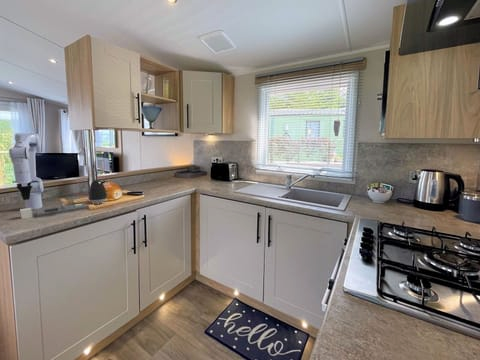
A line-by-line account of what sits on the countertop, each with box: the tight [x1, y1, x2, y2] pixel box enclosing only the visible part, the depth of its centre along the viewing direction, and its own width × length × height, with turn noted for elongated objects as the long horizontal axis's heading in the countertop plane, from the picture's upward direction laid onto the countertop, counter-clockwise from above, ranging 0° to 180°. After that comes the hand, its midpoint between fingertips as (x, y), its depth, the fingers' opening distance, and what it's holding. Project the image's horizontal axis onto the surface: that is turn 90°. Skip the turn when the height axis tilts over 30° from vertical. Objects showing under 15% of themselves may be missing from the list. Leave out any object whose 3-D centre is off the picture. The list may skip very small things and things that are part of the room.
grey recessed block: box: [35, 201, 90, 218], centre depth 126 cm, size 9×22×6 cm, turn 135°
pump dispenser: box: [87, 179, 108, 205], centre depth 144 cm, size 10×10×15 cm
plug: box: [19, 207, 33, 219], centre depth 116 cm, size 4×4×5 cm
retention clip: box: [59, 197, 69, 205], centre depth 123 cm, size 2×9×2 cm, turn 49°
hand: (26, 198), depth 117 cm, fingers open, 7 cm apart
